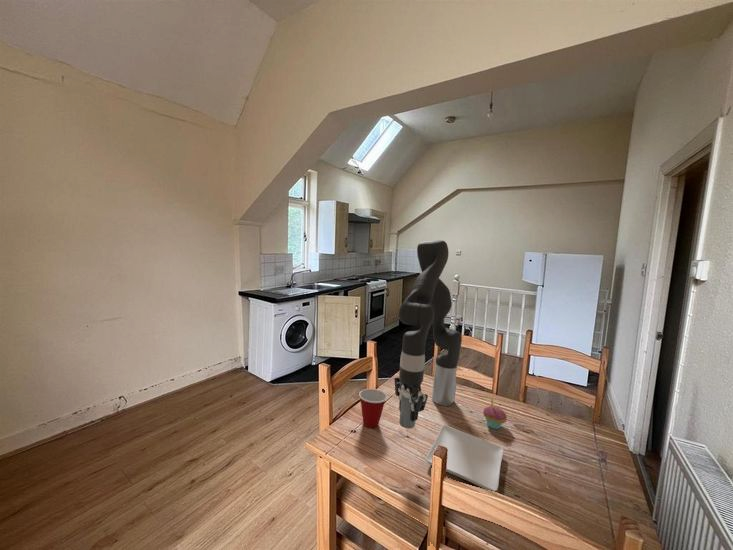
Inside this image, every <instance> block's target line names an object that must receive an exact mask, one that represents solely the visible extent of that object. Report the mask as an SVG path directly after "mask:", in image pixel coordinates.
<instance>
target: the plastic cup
mask: <svg viewBox="0 0 733 550" xmlns="http://www.w3.org/2000/svg"><path fill="white" fill-rule="evenodd" d="M358 396H359V398H360V399H359V400H360V406H361V416H362V423H363V426H365V427H366V428H368V429H375V428H377V427H378V426H379V425H380V420H381V417H382V414H383V410H384V407H385V403H386V401H387V399H388V395H387V393H385V392H384V391H382V390H380V389H375V388H365V389H362V390H361V391H359V394H358Z"/></svg>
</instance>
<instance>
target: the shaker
mask: <svg viewBox="0 0 733 550" xmlns="http://www.w3.org/2000/svg"><path fill="white" fill-rule="evenodd" d="M401 394H402V396H401V409H400V411H399V421H398V422H399V425H400V426H401V427H402V428H404V429H413V428H415V426H416V421H413V422H412V421H411V420H410V416H411V410H412V409H411V403H409V399H410V394H409V393H407V390H406V389H402V393H401ZM411 395H412V394H411ZM416 399H417V397H414V398H413V397H412V400H416ZM414 406H416V403H414Z"/></svg>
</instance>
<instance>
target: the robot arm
mask: <svg viewBox="0 0 733 550" xmlns="http://www.w3.org/2000/svg"><path fill="white" fill-rule="evenodd" d="M416 252H417V253H416V254H417V259H418V263H419V267H420V271H421V273H420V274H419V275H418V276H417V277H416V279H415V280H414V283H413V286H412V289H411V292H409V293H410V294H409V295H408V296H407V297H406V298H405V299H404V301H402V304H401V305H400V307H399V310H398V319H399V321H400V322H401V323H402V324H404V325H408V326H415V327H420V329H418V330H410V331H406V332H404V334H403V335H402V346H401V354H400V362H399V372H398V374H399V375H398V376H397V377H394V391H395V392H394V393H395V394H394V395H395V396H396V397H398V400H399V403H398V405H399V406H398V408H399V409H398V410H399V412H400V409H401V396H402V394H401V393H402V389H406V390H407V393H409V394H410V399H409V403H411V409H412V410H411V416H410V420H411V421H412V422H413V421H415V422H416V421H417V420H418V419H419V413H420V412H423V411H424V410H425V409H426V405H427V401H428V397H429V396H428V394H427V393H423V392H422V386H421V385H422V384H423V381H424V374H425V373H424V372H425V363H426V356H425V355H426V354H425V353H426V345H427V344H426V343H427V338H428V334H429V331H430V328H431V326H432V333H433V334H432V335H433V341H434V344H435V345H436V346H437V347H438V348H440V349H443V350H446V351H447V353H446V354H445V353H444V354H438V355H436V357H435V366H434V376H433V385H432V392H431V393H432V395H431V400H432V401H433V403H435V404H437V405H438V406H442V407H449V406H451V405H453V403H454V402H455V398H456V390H457V380H456V379H457V378H456V377H457V368H458V363H459V359H460V353H461V348H462V341H463V340H462V339H463V338H462V334H461V332H459V330H455V329H453V328H452V329H451V328H448V327H447V326H446V324H445V319H446V317H447V316H448V315H449V313H450V312H451V310H452V306H453V305H452V304H453V303H452V302H453V301H452V296H451V291H450V289H449V287H448V286H447V285H446V284H445V282H443V280H442V279H440V278H441V274H443V273H442V272H444V270H445V267H446V265H447V262H448V259H449V247H448V243H447V242H446V241H445V240H441V239H440V240H439V239H438V240H430V241H426V240H425V241H422V242H419V243H418V245H417V246H416ZM411 394H412V395H411ZM412 397H413V398H414V397H417V399H416V400H412ZM414 403H416V406H414Z"/></svg>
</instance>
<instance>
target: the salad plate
mask: <svg viewBox="0 0 733 550" xmlns="http://www.w3.org/2000/svg"><path fill="white" fill-rule="evenodd" d="M438 445H442V446H445V447H447V449H448V460H447V471H446V472H447V473H450V474H451V475H454V476H455V477H458V478H461V479H463V480H466V481H467V482H469V483H470V484H471V483H472V484H474V485H475V486H478V487H480V488H482V489H484V490H486V489H487V490H486V491H488V490H492V491H494V492H497V491H498V489H499V482H500V475H501V465H502V459H503V457H504V447H502V446H500V445H498V444H496V443H493V442H491V441H488V440H485V439H483V438H480V437H478V436H475V435H473V434H471V433H467V432H465V431H462V430H460V429H457V428H454V427H451V426H449V425H447V424H443V425H441V427H440V429H439V432H438V434H437V436H436V438H435V440H434V442H433V444H432V446H431V447H430V449H429V451H428V452H427V455H426V456H425V461H426V462H427V463H428V464H429V465H431V464H432V456H433V452H434V451H435V448H436V447H437V446H438ZM492 491H491V492H492Z"/></svg>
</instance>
